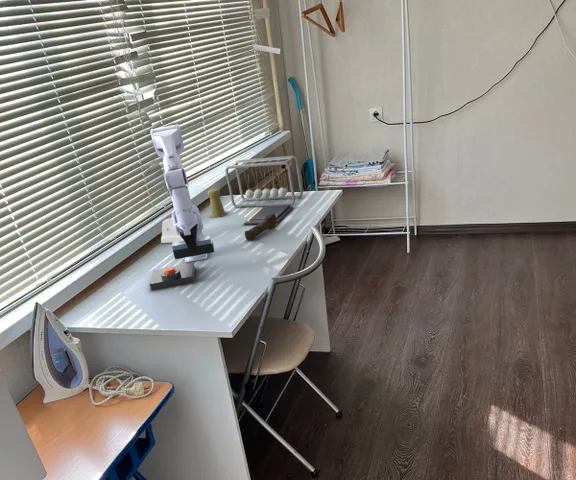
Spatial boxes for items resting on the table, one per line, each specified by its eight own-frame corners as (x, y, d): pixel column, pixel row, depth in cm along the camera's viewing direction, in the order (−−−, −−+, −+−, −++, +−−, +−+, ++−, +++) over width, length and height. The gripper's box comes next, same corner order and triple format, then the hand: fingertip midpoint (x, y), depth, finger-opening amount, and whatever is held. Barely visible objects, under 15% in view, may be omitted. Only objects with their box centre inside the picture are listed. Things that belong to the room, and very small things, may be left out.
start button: (166, 272, 198) (164, 268, 197) (175, 270, 198) (174, 266, 197) (165, 276, 195) (164, 271, 195) (175, 274, 195) (173, 269, 195)
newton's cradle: (232, 208, 266) (223, 166, 257) (242, 200, 274) (234, 160, 265) (295, 205, 254) (288, 161, 245) (304, 197, 262) (298, 155, 253)
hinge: (160, 243, 238) (157, 216, 236) (166, 243, 243) (164, 217, 240) (198, 241, 233) (196, 214, 231) (204, 240, 237) (201, 214, 235)
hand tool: (253, 241, 222) (251, 229, 220) (245, 240, 225) (243, 228, 222) (282, 224, 235) (280, 212, 233) (274, 223, 237) (272, 212, 235)
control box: (155, 276, 207) (151, 265, 205) (195, 269, 207) (192, 258, 205) (151, 291, 196) (148, 279, 194) (193, 283, 196) (191, 271, 194)
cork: (224, 216, 257) (219, 190, 251) (210, 218, 258) (204, 192, 252) (226, 212, 262) (220, 186, 257) (212, 214, 263) (206, 188, 257)
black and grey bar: (175, 255, 201) (172, 242, 198) (214, 248, 201) (211, 235, 198) (175, 259, 197) (171, 246, 195) (214, 252, 197) (211, 238, 195)
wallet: (276, 219, 235) (241, 220, 241) (277, 224, 236) (242, 225, 242) (294, 203, 250) (260, 205, 256) (294, 207, 251) (261, 209, 257)
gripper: (172, 205, 197) (182, 245, 204) (169, 217, 185) (180, 259, 192) (193, 201, 197) (203, 241, 205) (192, 213, 185) (202, 255, 192)
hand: (193, 249), depth 198 cm, fingers closed on black and grey bar, 4 cm apart
